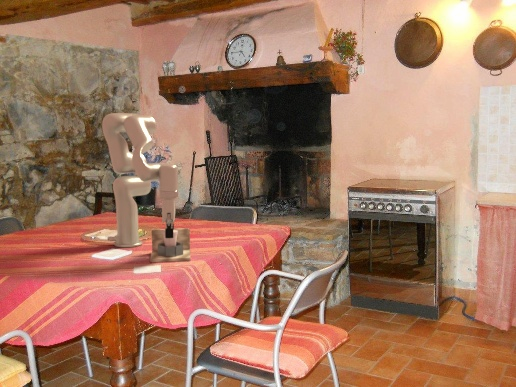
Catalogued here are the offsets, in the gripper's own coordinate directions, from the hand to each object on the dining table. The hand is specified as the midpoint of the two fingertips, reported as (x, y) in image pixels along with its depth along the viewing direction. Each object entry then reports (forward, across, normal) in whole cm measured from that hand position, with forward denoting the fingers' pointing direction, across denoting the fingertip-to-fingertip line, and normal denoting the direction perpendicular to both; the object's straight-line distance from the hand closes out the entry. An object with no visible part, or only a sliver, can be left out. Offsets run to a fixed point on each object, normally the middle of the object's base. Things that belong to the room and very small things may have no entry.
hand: (169, 235), depth 216 cm
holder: (+9, 0, 0) cm, 9 cm away
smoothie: (+8, +1, 0) cm, 8 cm away
